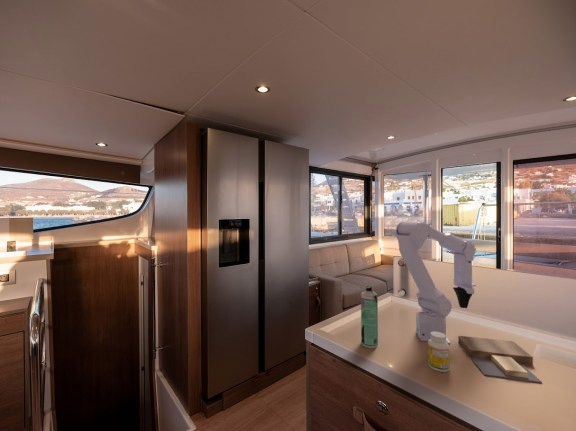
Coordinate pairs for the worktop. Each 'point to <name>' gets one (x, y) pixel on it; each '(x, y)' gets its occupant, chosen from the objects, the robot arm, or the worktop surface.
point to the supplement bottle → (438, 352)
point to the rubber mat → (494, 371)
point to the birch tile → (509, 366)
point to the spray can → (369, 318)
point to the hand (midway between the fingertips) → (463, 307)
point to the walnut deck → (494, 349)
